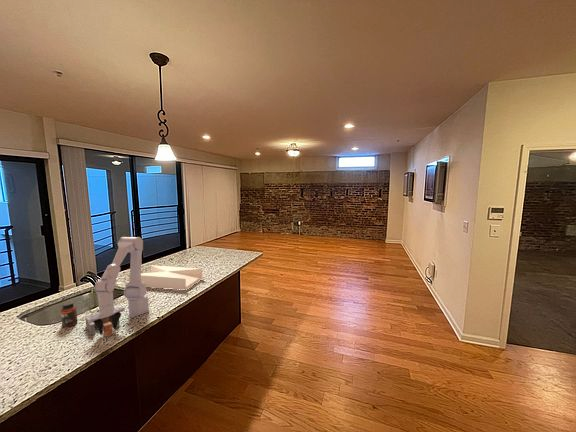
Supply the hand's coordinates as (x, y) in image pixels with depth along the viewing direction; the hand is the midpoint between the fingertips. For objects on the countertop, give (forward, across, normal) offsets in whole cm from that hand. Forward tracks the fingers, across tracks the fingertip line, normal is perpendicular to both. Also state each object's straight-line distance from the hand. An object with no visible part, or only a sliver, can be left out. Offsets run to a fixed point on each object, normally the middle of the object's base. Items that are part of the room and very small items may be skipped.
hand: (108, 330), depth 118 cm
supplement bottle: (+2, +8, -26) cm, 27 cm away
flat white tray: (+2, -53, -40) cm, 66 cm away
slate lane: (+1, -1, -9) cm, 10 cm away
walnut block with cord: (+1, -1, -6) cm, 7 cm away
